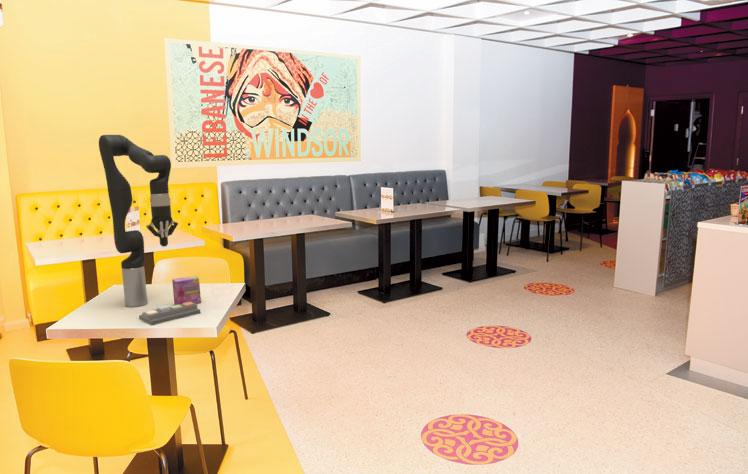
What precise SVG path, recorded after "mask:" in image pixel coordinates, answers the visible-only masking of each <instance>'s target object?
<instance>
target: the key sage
mask: <svg viewBox="0 0 748 474" xmlns="http://www.w3.org/2000/svg"><path fill="white" fill-rule="evenodd" d="M169 306H170V308H171V309H173V310H174V309H178V308H183V307H182V306H181V305H175V304H174V305H169Z"/></svg>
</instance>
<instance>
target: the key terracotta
mask: <svg viewBox="0 0 748 474" xmlns="http://www.w3.org/2000/svg"><path fill="white" fill-rule="evenodd" d="M191 305H194V303H191V302H187V303H183V304H182V306H184V307H187V306H191Z"/></svg>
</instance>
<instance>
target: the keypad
mask: <svg viewBox="0 0 748 474" xmlns="http://www.w3.org/2000/svg"><path fill="white" fill-rule="evenodd" d="M191 303H192V302H191ZM179 305H181V306H182V304H179ZM182 307H183V308H178V309H174V310H173V309H171V308H170V309H171V310H170V311H166V312H159V311H158V309H154V310H155V311H157V312H158V313H157V314H153V315H147V314H145V312H146V311H145V312H142V313H141V314H139V315H138V319H139V320H141V321H143V323H146V324H148V325H150V326H154V325H158V324H162V323H166V322H171V321H174V320H179V319H182V318H187V317H191V316H194V315H200V314H201V309H200V308H198V303H197V304H195V303H194V305H191V306H187V307H184V306H182Z"/></svg>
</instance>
